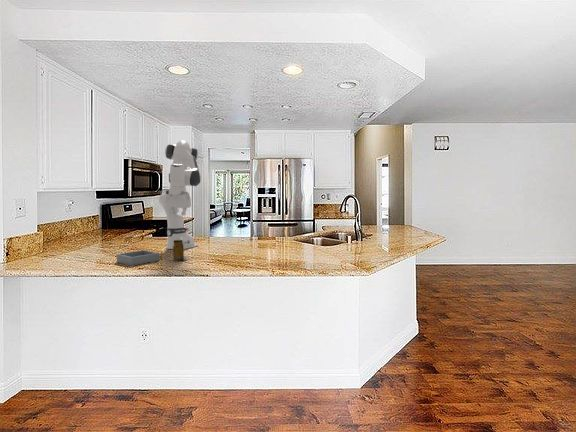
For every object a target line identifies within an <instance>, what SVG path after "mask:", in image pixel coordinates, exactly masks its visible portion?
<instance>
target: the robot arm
mask: <svg viewBox="0 0 576 432" xmlns="http://www.w3.org/2000/svg"><path fill="white" fill-rule="evenodd" d="M164 155H165V157H166V159H168V160H173V161H172V164H171V165H170V168H169V173H168V183H169V188H168V189H167V190H165V192H163V193H161V194H160V195H159V199H158V202H159V204H160V206H161V207H162V208H163V209H164V212H165V216H166V221H167V228H166V235H167V238H166V239H167V240H166V247H165V249H166V250H167V249H168V250H173V245H174V240H182V241H183V248H184V250H186V249H191V248H194V247H198V246H199V245H198V243H196V242H195V238H194V237H193V236H192V235H190V234H189V233H188V231H189V230H190V229H189V227H185V224H184V223H185V220H184V219H185V218H184V216H186V212H187V208H191V207H192V199H191V196H190V193H189V192H188V191H187V187H188V186H189V187H190V186H191V187H197V186H199V185H200V183H201V181H202V175H201V173H200V170H199V166H198V162H197V160H198V158H199V151H198V149H197V148H196V147H191V145H190V143H189V142H188V141H186V140H179V141H178V142H177V143H176V144H174V143H170V144H167V146H165V150H164ZM188 168H190V169H188ZM179 209H181V210H182V211H181V212H180V210H179Z"/></svg>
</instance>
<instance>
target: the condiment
mask: <svg viewBox="0 0 576 432" xmlns="http://www.w3.org/2000/svg"><path fill="white" fill-rule="evenodd" d="M184 250H185V249H184V248H183V241H182V240H174V245H173V249H172V251H173V252H172V255H173V257H172V258H173V259H172V260H174V261H173V262H186V261H188V260H189V258H185V256H184V255H185V253H184ZM182 260H183V261H182Z"/></svg>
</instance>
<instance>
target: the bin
mask: <svg viewBox="0 0 576 432" xmlns="http://www.w3.org/2000/svg"><path fill="white" fill-rule="evenodd" d="M155 261H157V262H160V252H155V251H149V250H146V249H143V250H135V251H130V252H123V253H117V254H116V263H117V262H118V263H119V264H123V265H126V264H127V266H130V265H131V267H133V265H134V266H139V265H138V264H140V265H143V264H142V263H145V264H149V263H148V262H151V263H155Z"/></svg>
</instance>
